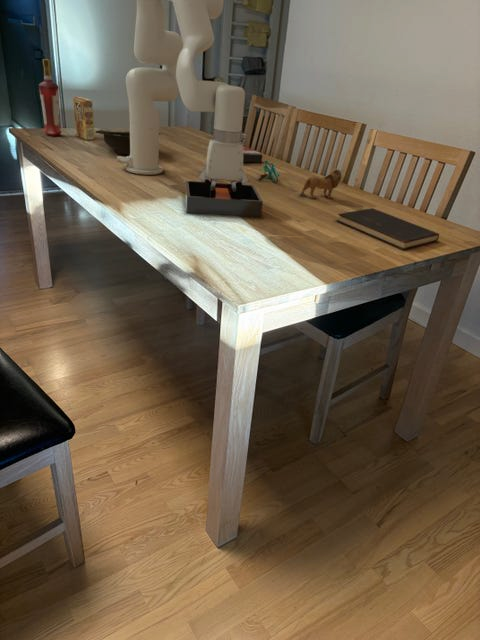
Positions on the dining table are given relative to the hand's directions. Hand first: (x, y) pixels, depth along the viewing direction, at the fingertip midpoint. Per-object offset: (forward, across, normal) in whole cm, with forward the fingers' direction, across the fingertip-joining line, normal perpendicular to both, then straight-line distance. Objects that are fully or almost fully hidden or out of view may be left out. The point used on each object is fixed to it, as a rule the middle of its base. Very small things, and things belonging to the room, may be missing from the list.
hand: (221, 202), depth 136 cm
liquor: (+1, +64, -85) cm, 106 cm away
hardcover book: (+1, -46, +13) cm, 47 cm away
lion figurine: (+1, -34, -18) cm, 39 cm away
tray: (+1, 0, 0) cm, 1 cm away
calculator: (+1, -14, -65) cm, 66 cm away
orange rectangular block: (+1, 0, 0) cm, 1 cm away
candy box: (+1, +50, -85) cm, 99 cm away
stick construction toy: (+1, -20, -36) cm, 41 cm away
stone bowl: (+1, +32, -66) cm, 73 cm away
